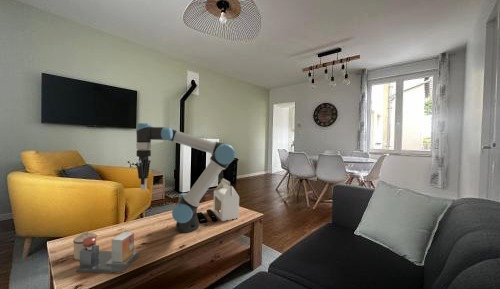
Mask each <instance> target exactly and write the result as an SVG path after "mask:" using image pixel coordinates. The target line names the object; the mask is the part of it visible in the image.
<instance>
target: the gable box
mask: <svg viewBox="0 0 500 289" xmlns="http://www.w3.org/2000/svg"><path fill="white" fill-rule="evenodd" d="M212 208H213V209H212V210H213V211H214V212H213V213H214V214H215V216H217V217H218V219H220V220H221V222H227V221H226V220H228V221H232V219H234V220H237V219H236V218H239V215H240V213H239V212H240V196H239V194H238V193H237V191H236V189H235V188H234V186H232V183H231V181H229V180H227V179H226V178H222V179H220V182H219V183H218V184H217V186H216V188H215V189H214V190H213V207H212ZM219 210H221V213H220V212H219Z"/></svg>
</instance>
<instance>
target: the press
mask: <svg viewBox="0 0 500 289" xmlns="http://www.w3.org/2000/svg"><path fill="white" fill-rule="evenodd" d="M139 256H140V251H134V253H133V254H132V255H131V256H130V257H128V258H127V259H126V260H124V261H123V262H114V261H111V258H112V250H110V251H109V250H100V245H97V244H96V245H92V249H91V250H87V247H85V248H84V249H82V250H81V251H80V260H79V266H78V267H76V272H77V273H106V274H107V272H108V273H109V272H123V271H124V270H125V269H126V268H127V267H128V268H129V267H130V265H131V264H132V263H134V261H135V260H136V259H138V257H139ZM126 270H127V269H126ZM126 270H125V271H126ZM125 271H124V272H125ZM124 272H123V273H124Z"/></svg>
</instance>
